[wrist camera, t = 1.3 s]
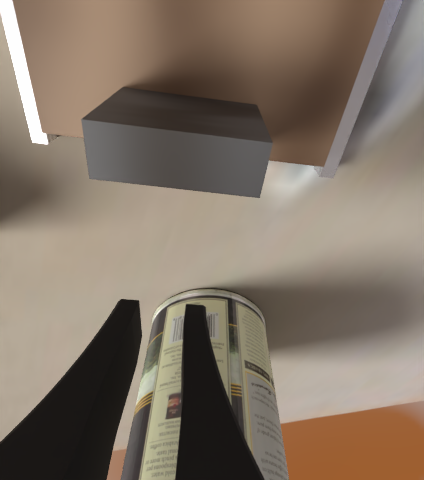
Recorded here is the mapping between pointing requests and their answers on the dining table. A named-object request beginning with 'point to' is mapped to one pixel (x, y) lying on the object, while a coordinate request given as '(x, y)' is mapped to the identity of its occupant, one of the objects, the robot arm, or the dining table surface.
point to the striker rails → (3, 3)
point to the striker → (195, 84)
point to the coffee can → (233, 376)
